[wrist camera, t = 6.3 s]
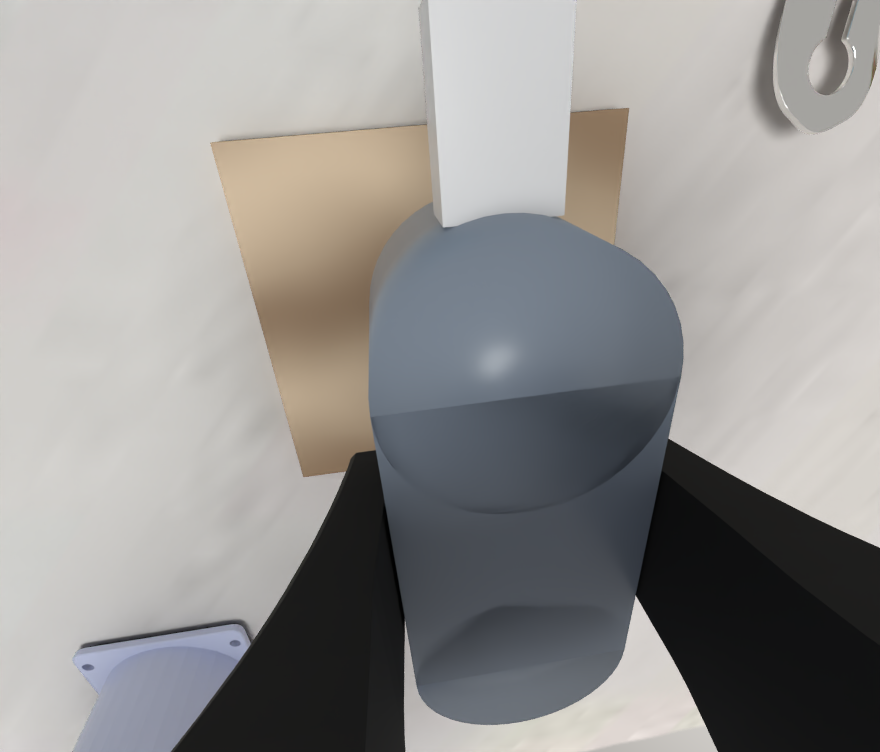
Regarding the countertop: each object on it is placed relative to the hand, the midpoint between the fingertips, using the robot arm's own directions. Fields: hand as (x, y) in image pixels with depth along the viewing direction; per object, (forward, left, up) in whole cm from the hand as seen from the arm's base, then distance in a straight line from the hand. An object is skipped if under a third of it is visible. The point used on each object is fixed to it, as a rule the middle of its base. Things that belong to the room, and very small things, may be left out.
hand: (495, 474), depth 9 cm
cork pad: (0, 0, -9) cm, 9 cm away
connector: (+1, 0, -1) cm, 2 cm away
